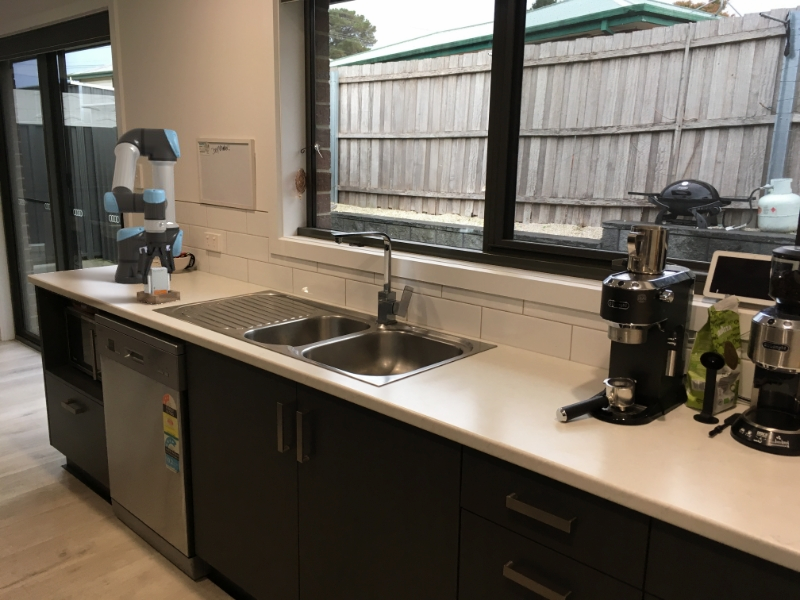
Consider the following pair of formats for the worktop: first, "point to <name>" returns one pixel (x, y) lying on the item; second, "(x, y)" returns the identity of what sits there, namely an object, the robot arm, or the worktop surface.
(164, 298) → the rectangular wooden frame
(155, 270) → the skincare box
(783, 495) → the worktop surface
